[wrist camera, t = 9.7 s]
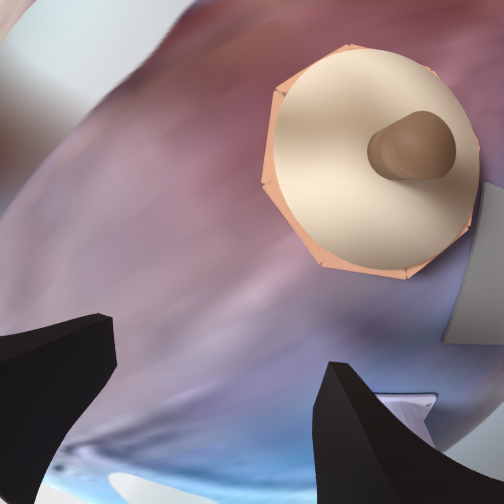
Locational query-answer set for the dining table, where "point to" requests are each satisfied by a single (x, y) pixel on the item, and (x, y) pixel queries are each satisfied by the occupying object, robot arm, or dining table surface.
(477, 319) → the mat
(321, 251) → the octagonal bowl
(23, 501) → the robot arm
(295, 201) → the lid
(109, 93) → the dining table surface
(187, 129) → the dining table surface
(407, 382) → the dining table surface
